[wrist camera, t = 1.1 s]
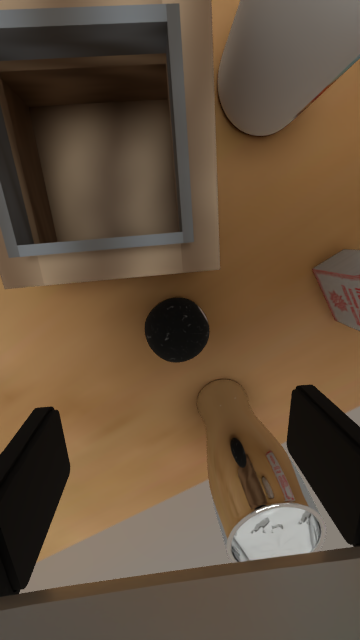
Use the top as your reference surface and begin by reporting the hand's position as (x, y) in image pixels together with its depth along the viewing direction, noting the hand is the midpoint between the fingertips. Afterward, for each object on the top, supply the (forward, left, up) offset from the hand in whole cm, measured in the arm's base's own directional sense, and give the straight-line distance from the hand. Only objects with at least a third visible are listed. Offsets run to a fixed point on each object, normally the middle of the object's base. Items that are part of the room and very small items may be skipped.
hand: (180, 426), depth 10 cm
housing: (+3, -12, -17) cm, 21 cm away
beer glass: (-5, +12, -18) cm, 22 cm away
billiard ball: (-1, +1, -18) cm, 18 cm away
